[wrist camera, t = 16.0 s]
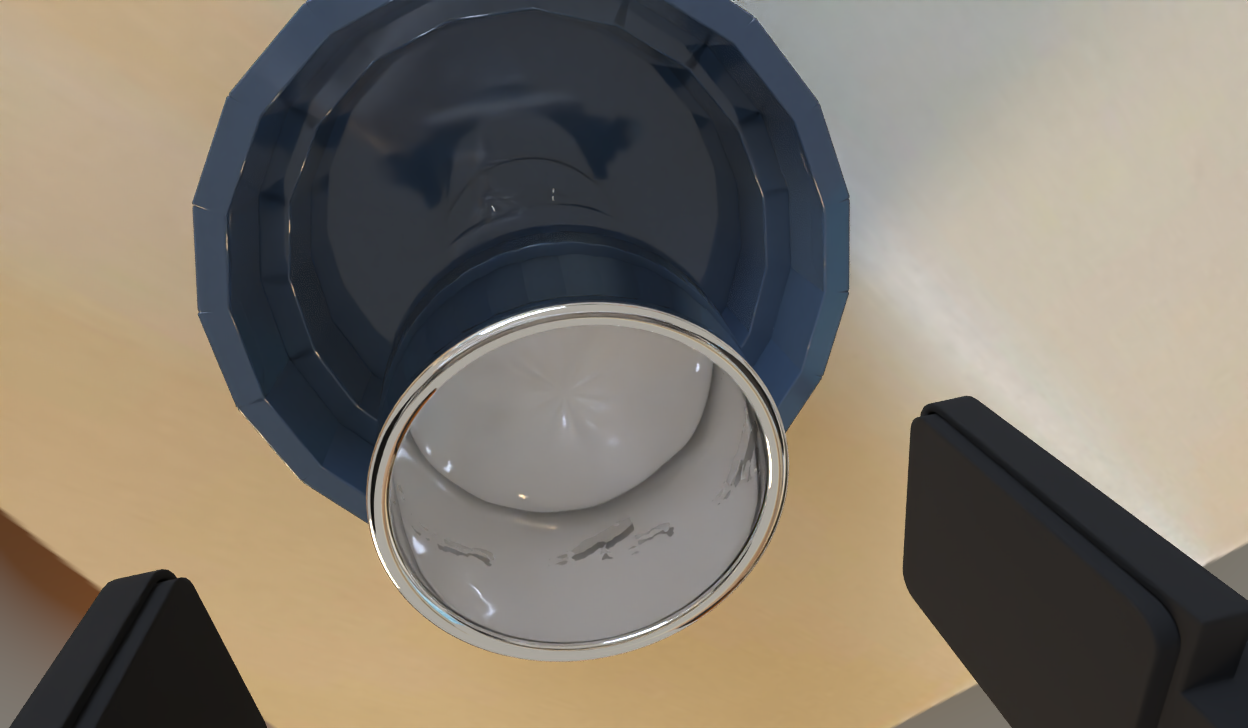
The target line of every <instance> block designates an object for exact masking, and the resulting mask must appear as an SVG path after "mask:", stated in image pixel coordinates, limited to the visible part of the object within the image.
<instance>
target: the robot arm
mask: <svg viewBox="0 0 1248 728" xmlns="http://www.w3.org/2000/svg"><path fill="white" fill-rule="evenodd" d="M903 576H904V580H905V583H906V586H907V589H908V591H909V593H910V594H911V596H912V598H913V599H914V600H915V602H916V603H917V604H918V605H919V607H920V608H921V609H922V611H923V612H924V613H925V615H926V616H927V617H928V619H929V620H930V621H931V623H932V624H933V625H934V626H935V628H936V629H937V630H938V632H939V633H940V634H941V636H942V637H943V638H944V640H945V641H946V642H947V643H948V645H949V646H950V647H951V649H952V650H953V651H954V653H955V654H956V655H957V657H958V658H959V659H960V660H961V662H962V663H963V664H964V666H965V667H966V668H967V670H968V671H969V672H970V674H971V675H972V676H973V677H974V679H975V680H976V681H977V683H978V684H979V685H980V687H981V688H982V689H983V691H984V692H985V693H986V694H987V696H988V697H989V698H990V699H991V701H992V702H993V703H994V705H995V706H996V707H997V709H998V710H999V711H1000V713H1001V714H1002V715H1003V717H1004V718H1005V719H1006V721H1007V722H1008V723H1009V724H1010V726H1011V727H1012V728H1248V600H1246V599H1245V598H1244V597H1242V596H1241V595H1240V594H1238V593H1237V592H1236V591H1234V590H1233V589H1232V588H1230V587H1229V586H1228V585H1226V584H1225V583H1223V582H1222V581H1221V580H1219V579H1218V578H1217V577H1215V576H1214V575H1213V574H1211V573H1210V572H1209V571H1207V570H1206V569H1205V568H1203V567H1202V566H1201V565H1199V564H1198V563H1197V562H1195V561H1194V560H1193V559H1191V558H1190V557H1188V556H1187V555H1186V554H1184V553H1183V552H1182V551H1180V550H1179V549H1178V548H1176V547H1175V546H1174V545H1172V544H1171V543H1170V542H1168V541H1167V540H1166V539H1164V538H1163V537H1162V536H1160V535H1159V534H1157V533H1156V532H1155V531H1153V530H1152V529H1151V528H1149V527H1148V526H1147V525H1145V524H1144V523H1143V522H1141V521H1140V520H1139V519H1137V518H1136V517H1135V516H1133V515H1132V514H1131V513H1129V512H1128V511H1126V510H1125V509H1124V508H1122V507H1121V506H1120V505H1118V504H1117V503H1116V502H1114V501H1113V500H1112V499H1110V498H1109V497H1108V496H1106V495H1105V494H1104V493H1102V492H1101V491H1100V490H1098V489H1097V488H1095V487H1094V486H1093V485H1091V484H1090V483H1089V482H1087V481H1086V480H1085V479H1083V478H1082V477H1081V476H1079V475H1078V474H1077V473H1075V472H1074V471H1073V470H1071V469H1070V468H1069V467H1067V466H1066V465H1064V464H1063V463H1062V462H1060V461H1059V460H1058V459H1056V458H1055V457H1054V456H1052V455H1051V454H1050V453H1048V452H1047V451H1046V450H1044V449H1043V448H1042V447H1040V446H1039V445H1038V444H1036V443H1035V442H1033V441H1032V440H1031V439H1029V438H1028V437H1027V436H1025V435H1024V434H1023V433H1021V432H1020V431H1019V430H1017V429H1016V428H1015V427H1013V426H1012V425H1011V424H1009V423H1008V422H1007V421H1005V420H1004V419H1002V418H1001V417H1000V416H998V415H997V414H996V413H994V412H993V411H992V410H990V409H989V408H988V407H986V406H985V405H984V404H982V403H981V402H980V401H978V400H977V399H975V398H973V397H971V396H963V397H959V398H954V399H949V400H945V401H940V402H935V403H931V404H928V405H926V406H924V408H923V410H922V412H921V416H920V417H917V418H915V419H914V420H913V422H912V424H911V431H910V449H909V467H908V485H907V502H906V520H905V538H904V556H903ZM9 728H267V726H266V724H265V721H264V719H263V717H262V716H261V714H260V712H259V710H258V708H257V706H256V704H255V702H254V700H253V698H252V696H251V694H250V693H249V691H248V689H247V687H246V685H245V683H244V681H243V679H242V677H241V675H240V673H239V672H238V670H237V668H236V666H235V664H234V662H233V660H232V658H231V656H230V654H229V652H228V651H227V649H226V647H225V645H224V643H223V641H222V639H221V637H220V635H219V633H218V631H217V629H216V628H215V626H214V624H213V622H212V620H211V618H210V616H209V614H208V612H207V610H206V608H205V607H204V605H203V603H202V601H201V599H200V597H199V595H198V593H197V591H196V589H195V587H194V586H193V584H192V583H191V581H190V580H188V579H187V578H182V577H181V578H176V576H175V575H174V574H173V573H172V572H170V571H169V570H164V569H161V570H156V571H152V572H147V573H143V574H138V575H133V576H129V577H124V578H119V579H115V580H113V581H111V582H108V583H107V585H106V586H105V587H104V588H103V589H102V590H101V592H100V593H99V595H98V596H97V598H96V599H95V601H94V602H93V604H92V605H91V607H90V608H89V610H88V611H87V613H86V614H85V616H84V617H83V619H82V620H81V622H80V623H79V625H78V626H77V628H76V629H75V630H74V632H73V633H72V635H71V636H70V638H69V639H68V641H67V642H66V644H65V645H64V647H63V649H62V650H61V651H60V653H59V654H58V656H57V657H56V659H55V660H54V662H53V663H52V665H51V666H50V668H49V669H48V671H47V672H46V674H45V675H44V677H43V678H42V680H41V681H40V683H39V684H38V686H37V687H36V689H35V690H34V692H33V693H32V694H31V696H30V698H29V699H28V701H27V702H26V704H25V705H24V706H23V708H22V709H21V711H20V712H19V714H18V715H17V717H16V719H15V720H14V721H13V723H12V724H11V726H10V727H9Z"/></svg>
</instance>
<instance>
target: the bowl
mask: <svg viewBox="0 0 1248 728" xmlns="http://www.w3.org/2000/svg"><path fill="white" fill-rule="evenodd" d="M521 159H544V160H551V161H555V162H559V163H562V164H565V165H567V166H570V167H572V168H574V169H576V170H578V171H579V172H581V173H583V174H584V175H586V176H587V177H588V178H590V179H591V180H592V181H593V182H594V183H595V184H596V185H597V186H598V187H599V188H600V189H601V190H602V191H603V192H604V193H605V195H606V196H607V198H608V199H609V200H610V202H611V204H612V206H613V207H614V209H615V211H616V214H617V216H618V217H619V218H621V219H622V220H624V221H626V222H628V223H630V224H631V225H633V226H635V227H637V228H639V229H640V230H642V231H644V232H645V233H647V234H648V235H650V236H651V237H652V238H654V239H655V240H656V241H658V242H659V243H660V244H661V245H662V246H663V247H665V248H666V249H667V250H668V251H669V252H670V253H671V254H672V255H673V256H674V257H675V258H676V259H677V260H678V261H679V262H680V263H681V264H682V265H683V266H684V267H685V268H686V269H687V270H688V271H689V272H690V273H691V274H692V276H693V277H694V278H695V279H696V280H697V282H698V283H699V284H700V286H701V287H702V288H703V290H704V291H705V293H706V294H707V295H708V297H709V298H710V299H711V301H712V302H713V304H714V305H715V306H716V308H717V309H718V310H719V312H720V314H721V315H722V317H723V318H724V320H725V322H726V323H727V325H728V327H729V328H730V330H731V332H732V333H733V335H734V337H735V338H736V340H737V342H738V344H739V345H740V347H741V349H742V351H743V353H744V354H745V356H746V358H747V360H748V362H749V364H750V366H751V367H752V368H753V369H754V371H755V372H756V373H757V374H758V376H759V377H760V378H761V380H762V381H763V383H764V384H765V386H766V387H767V389H768V391H769V392H770V394H771V396H772V398H773V400H774V402H775V404H776V406H777V409H778V411H779V414H780V417H781V420H782V423H783V427H784V430H785V433H786V431H787V430H788V428H789V427H790V425H791V424H792V422H793V421H794V419H795V418H796V416H797V415H798V413H799V412H800V410H801V409H802V407H803V406H804V404H805V403H806V401H807V400H808V398H809V397H810V395H811V394H812V392H813V391H814V389H815V388H816V386H817V385H818V383H819V382H820V380H821V379H822V376H823V375H824V371H825V368H826V365H827V362H828V359H829V355H830V352H831V349H832V346H833V343H834V339H835V336H836V333H837V330H838V327H839V324H840V320H841V317H842V314H843V311H844V308H845V304H846V301H847V298H848V295H849V292H848V291H849V222H850V201H849V193H848V190H847V187H846V184H845V181H844V178H843V175H842V171H841V168H840V165H839V162H838V159H837V156H836V153H835V150H834V147H833V144H832V141H831V137H830V134H829V131H828V128H827V125H826V122H825V119H824V116H823V113H822V110H821V106H820V104H819V102H818V100H817V99H816V97H815V96H814V95H813V93H812V92H811V91H810V89H809V88H808V87H807V85H806V84H805V83H804V81H803V80H802V79H801V77H800V76H799V75H798V73H797V72H796V71H795V69H794V68H793V67H792V66H791V64H790V63H789V62H788V60H787V59H786V58H785V56H784V55H783V54H782V52H781V51H780V50H779V48H778V47H777V46H776V44H775V43H774V42H773V40H772V39H771V38H770V36H769V35H768V34H767V32H766V31H765V30H764V28H763V27H762V26H761V24H760V23H759V22H758V20H757V19H756V18H754V17H753V15H751V14H750V13H748V12H747V11H745V10H744V9H742V8H741V7H739V6H738V5H736V4H735V3H733V2H732V1H730V0H307V1H306V3H304V4H303V5H302V6H301V7H300V8H299V9H298V11H297V12H296V13H295V14H294V15H293V17H292V18H291V19H290V20H289V21H288V23H287V24H286V25H285V26H284V27H283V29H282V30H281V31H280V32H279V33H278V35H277V36H276V37H275V38H274V40H273V41H272V42H271V43H270V44H269V46H268V47H267V48H266V49H265V50H264V52H263V53H262V54H261V55H260V56H259V58H258V59H257V60H256V61H255V62H254V64H253V65H252V66H251V67H250V68H249V70H248V71H247V72H246V73H245V74H244V76H243V77H242V78H241V79H240V80H239V82H238V83H237V84H236V85H235V87H234V88H233V89H232V90H231V91H230V93H229V96H227V97H226V101H225V104H224V107H223V110H222V113H221V116H220V119H219V122H218V125H217V128H216V131H215V134H214V137H213V140H212V143H211V147H210V150H209V153H208V156H207V159H206V162H205V165H204V168H203V171H202V174H201V177H200V180H199V183H198V186H197V189H196V192H195V196H194V199H193V202H192V204H193V205H194V206H193V228H194V247H195V267H196V287H197V307H198V311H199V313H198V316H199V319H200V321H201V323H202V326H203V328H204V331H205V333H206V335H207V338H208V340H209V342H210V345H211V347H212V350H213V352H214V354H215V357H216V359H217V362H218V364H219V366H220V369H221V371H222V374H223V376H224V378H225V381H226V383H227V386H228V388H229V390H230V393H231V395H232V398H233V400H234V402H235V405H236V407H238V410H239V411H240V412H241V413H242V414H243V416H244V417H245V418H246V419H247V420H248V421H249V422H250V424H251V425H252V426H253V427H254V428H255V429H256V431H257V432H258V433H259V434H260V435H261V436H262V437H263V439H264V440H265V441H266V442H267V443H268V444H269V446H270V447H271V448H272V449H273V450H274V451H275V452H276V454H277V455H278V456H279V457H280V458H281V459H282V461H283V462H284V463H285V464H286V465H287V466H288V467H289V469H290V470H291V471H292V472H293V473H294V474H295V476H296V477H297V478H298V479H299V480H300V481H302V482H303V483H304V484H306V485H308V486H309V487H311V488H312V489H314V490H316V491H317V492H319V493H320V494H322V495H323V496H325V497H327V498H328V499H330V500H331V501H333V502H334V503H336V504H338V505H339V506H341V507H342V508H344V509H346V510H347V511H349V512H350V513H352V514H353V515H355V516H357V517H358V518H360V519H361V520H363V521H365V522H366V523H368V517H367V507H366V489H367V478H368V471H369V466H370V461H371V457H372V454H373V450H374V447H375V439H376V428H377V418H378V411H379V404H380V397H381V389H382V383H383V378H384V373H385V369H386V365H387V361H388V357H389V352H390V348H391V344H392V341H393V338H394V334H395V332H396V329H397V326H398V324H399V322H400V319H401V317H402V314H403V312H404V310H405V307H406V305H407V303H408V300H409V298H410V296H411V294H412V292H413V290H414V288H415V287H416V285H417V283H418V282H419V280H420V279H421V277H422V276H423V274H424V273H425V271H426V270H427V269H428V268H429V266H430V265H431V264H432V263H433V262H434V260H435V259H436V258H437V257H438V255H439V254H440V253H441V252H442V244H443V233H444V228H445V224H446V220H447V218H448V215H449V213H450V211H451V209H452V207H453V205H454V203H455V202H456V200H457V198H458V197H459V196H460V194H461V193H462V192H463V190H464V189H465V188H466V187H467V186H468V185H469V184H470V183H471V182H472V181H473V180H474V179H475V178H477V177H478V176H479V175H481V174H482V173H484V172H486V171H487V170H489V169H491V168H493V167H495V166H498V165H500V164H503V163H507V162H510V161H515V160H521ZM368 524H369V523H368Z"/></svg>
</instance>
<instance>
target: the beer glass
mask: <svg viewBox="0 0 1248 728" xmlns="http://www.w3.org/2000/svg"><path fill="white" fill-rule="evenodd" d="M788 477H789V454H788V446H787V439H786V435H785V430H784V427H783V423H782V420H781V417H780V414H779V411H778V409H777V406H776V404H775V402H774V400H773V398H772V396H771V394H770V392H769V391H768V389H767V387H766V386H765V384H764V383H763V381H762V380H761V378H760V377H759V376H758V374H757V373H756V372H755V371H754V369H753V368H752V367H751V366H750V364H749V362H748V360H747V358H746V356H745V354H744V353H743V351H742V349H741V347H740V345H739V344H738V342H737V340H736V338H735V337H734V335H733V333H732V332H731V330H730V328H729V327H728V325H727V323H726V322H725V320H724V318H723V317H722V315H721V314H720V312H719V310H718V309H717V308H716V306H715V305H714V304H713V302H712V301H711V299H710V298H709V297H708V295H707V294H706V293H705V291H704V290H703V288H702V287H701V286H700V284H699V283H698V282H697V280H696V279H695V278H694V277H693V276H692V274H691V273H690V272H689V271H688V270H687V269H686V268H685V267H684V266H683V265H682V264H681V263H680V262H679V261H678V260H677V259H676V258H675V257H674V256H673V255H672V254H671V253H670V252H669V251H668V250H667V249H666V248H665V247H663V246H662V245H661V244H660V243H659V242H658V241H656V240H655V239H654V238H652V237H651V236H650V235H648V234H647V233H645V232H644V231H642V230H640V229H639V228H637V227H635V226H633V225H631V224H630V223H628V222H626V221H624V220H622V219H621V218H619V217H618V216H617V214H616V211H615V209H614V207H613V206H612V204H611V202H610V200H609V199H608V198H607V196H606V195H605V193H604V192H603V191H602V190H601V189H600V188H599V187H598V186H597V185H596V184H595V183H594V182H593V181H592V180H591V179H590V178H588V177H587V176H586V175H584V174H583V173H581V172H579V171H578V170H576V169H574V168H572V167H570V166H567V165H565V164H562V163H559V162H555V161H551V160H544V159H521V160H515V161H510V162H507V163H503V164H500V165H498V166H495V167H493V168H491V169H489V170H487V171H486V172H484V173H482V174H481V175H479V176H478V177H477V178H475V179H474V180H473V181H472V182H471V183H470V184H469V185H468V186H467V187H466V188H465V189H464V190H463V192H462V193H461V194H460V196H459V197H458V198H457V200H456V202H455V203H454V205H453V207H452V209H451V211H450V213H449V215H448V218H447V220H446V224H445V228H444V233H443V244H442V252H441V253H440V254H439V255H438V257H437V258H436V259H435V260H434V262H433V263H432V264H431V265H430V266H429V268H428V269H427V270H426V271H425V273H424V274H423V276H422V277H421V279H420V280H419V282H418V283H417V285H416V287H415V288H414V290H413V292H412V294H411V296H410V298H409V300H408V303H407V305H406V307H405V310H404V312H403V314H402V317H401V319H400V322H399V324H398V326H397V329H396V332H395V334H394V338H393V341H392V344H391V348H390V352H389V357H388V361H387V365H386V369H385V373H384V378H383V383H382V389H381V397H380V404H379V411H378V418H377V428H376V439H375V447H374V450H373V454H372V457H371V461H370V466H369V471H368V478H367V489H366V507H367V517H368V523H369V529H370V533H371V537H372V541H373V544H374V547H375V550H376V552H377V555H378V557H379V559H380V562H381V564H382V566H383V567H384V569H385V571H386V573H387V575H388V576H389V578H390V579H391V581H392V582H393V584H394V585H395V587H396V588H397V589H398V591H399V592H400V593H401V594H402V595H403V597H404V598H405V599H406V600H407V601H408V602H409V603H410V604H411V605H412V606H413V607H414V608H415V609H416V610H417V611H418V612H419V613H420V614H422V615H423V616H424V617H425V618H426V619H428V620H429V621H430V622H432V623H433V624H434V625H436V626H437V627H439V628H440V629H442V630H443V631H445V632H447V633H448V634H450V635H452V636H454V637H456V638H458V639H460V640H462V641H464V642H466V643H468V644H470V645H473V646H475V647H478V648H481V649H484V650H486V651H490V652H493V653H496V654H500V655H504V656H509V657H513V658H519V659H525V660H533V661H546V662H571V661H585V660H593V659H599V658H605V657H610V656H615V655H619V654H623V653H627V652H630V651H634V650H637V649H640V648H643V647H645V646H648V645H651V644H653V643H656V642H658V641H660V640H663V639H665V638H667V637H669V636H671V635H673V634H675V633H677V632H679V631H681V630H683V629H684V628H686V627H688V626H690V625H691V624H693V623H694V622H696V621H698V620H699V619H700V618H702V617H703V616H705V615H706V614H708V613H709V612H710V611H712V610H713V609H714V608H715V607H717V606H718V605H719V604H720V603H721V602H722V601H724V600H725V599H726V598H727V597H728V596H729V595H730V594H731V593H732V592H733V591H734V590H735V589H736V588H737V587H738V586H739V585H740V584H741V583H742V582H743V581H744V579H745V578H746V577H747V576H748V575H749V573H750V572H751V571H752V569H753V568H754V567H755V565H756V564H757V562H758V561H759V559H760V558H761V556H762V555H763V553H764V551H765V550H766V548H767V546H768V544H769V543H770V541H771V539H772V536H773V534H774V532H775V530H776V527H777V525H778V522H779V520H780V517H781V514H782V510H783V507H784V503H785V499H786V494H787V487H788Z"/></svg>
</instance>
